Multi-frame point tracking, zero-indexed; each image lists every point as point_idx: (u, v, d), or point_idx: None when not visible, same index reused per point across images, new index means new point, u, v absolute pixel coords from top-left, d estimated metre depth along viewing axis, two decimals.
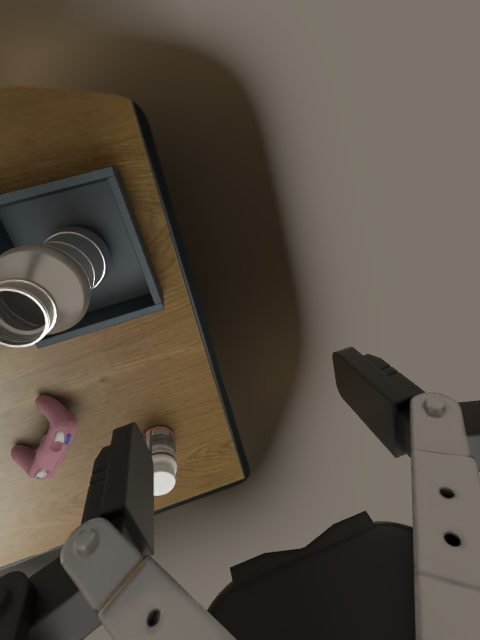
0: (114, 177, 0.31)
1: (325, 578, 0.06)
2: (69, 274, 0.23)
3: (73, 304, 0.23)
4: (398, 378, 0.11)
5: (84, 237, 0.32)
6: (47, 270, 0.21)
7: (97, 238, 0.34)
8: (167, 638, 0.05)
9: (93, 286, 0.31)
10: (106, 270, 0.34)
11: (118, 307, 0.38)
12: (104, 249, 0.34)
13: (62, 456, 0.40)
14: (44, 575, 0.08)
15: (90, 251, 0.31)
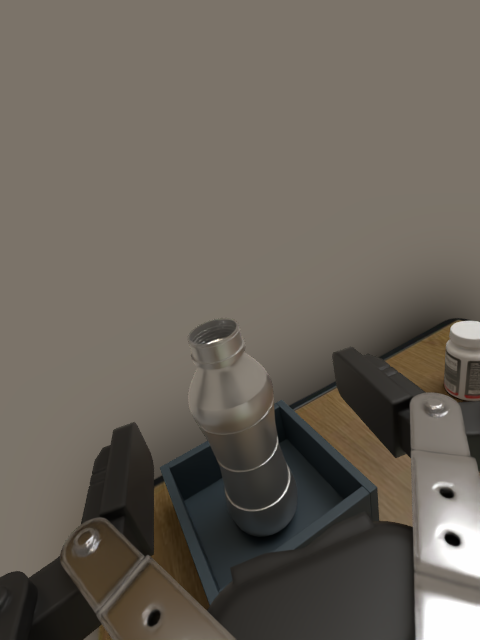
0: (168, 463, 0.33)
1: (325, 578, 0.06)
2: None
3: None
4: (398, 378, 0.11)
5: None
6: None
7: None
8: (167, 638, 0.05)
9: None
10: None
11: (308, 452, 0.34)
12: None
13: None
14: (43, 575, 0.08)
15: None
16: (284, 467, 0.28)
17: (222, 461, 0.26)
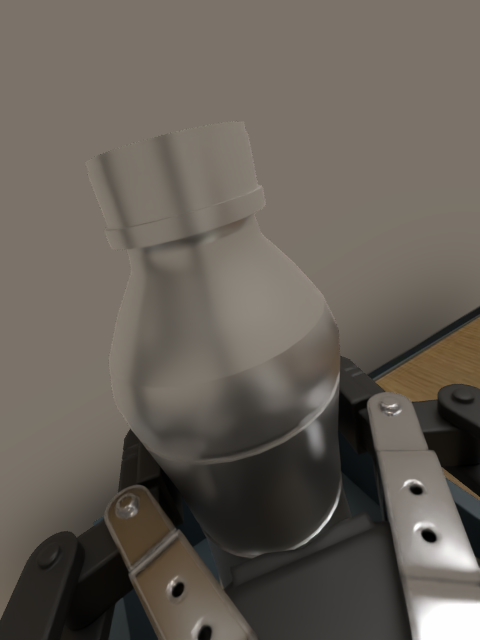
0: None
1: (325, 578, 0.06)
2: None
3: None
4: (362, 378, 0.12)
5: None
6: None
7: None
8: (188, 611, 0.06)
9: None
10: None
11: (372, 482, 0.19)
12: None
13: None
14: (88, 536, 0.09)
15: None
16: None
17: (209, 530, 0.10)
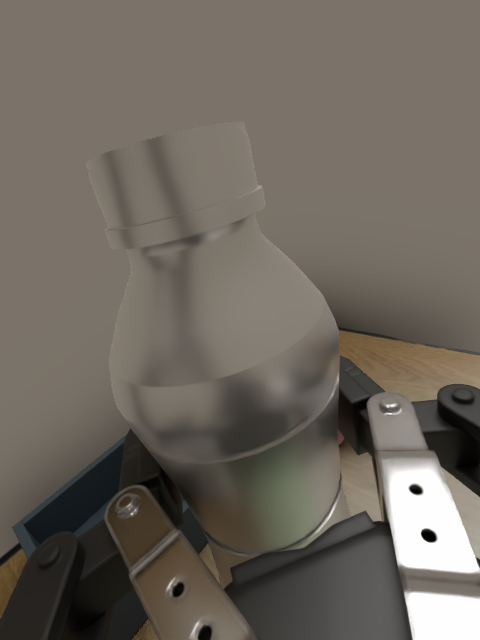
0: (23, 519, 0.31)
1: (325, 578, 0.06)
2: None
3: None
4: (362, 378, 0.12)
5: None
6: None
7: None
8: (188, 611, 0.06)
9: None
10: None
11: None
12: None
13: None
14: (88, 536, 0.09)
15: None
16: None
17: (209, 529, 0.10)
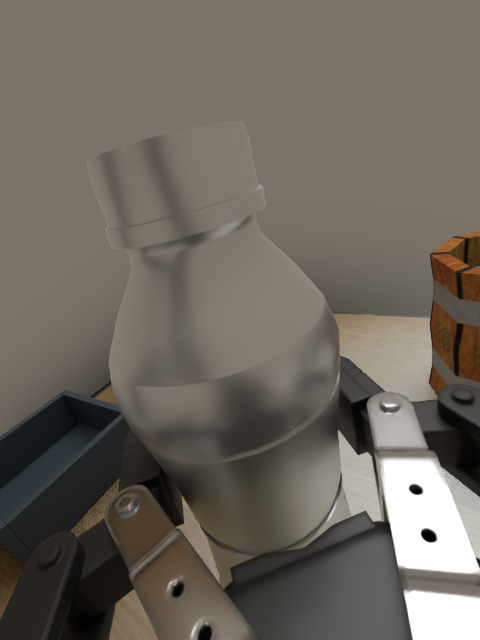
0: None
1: (325, 578, 0.06)
2: None
3: None
4: (362, 378, 0.12)
5: None
6: None
7: None
8: (188, 611, 0.06)
9: None
10: None
11: (93, 420, 0.42)
12: None
13: None
14: (88, 536, 0.09)
15: None
16: None
17: (209, 530, 0.10)
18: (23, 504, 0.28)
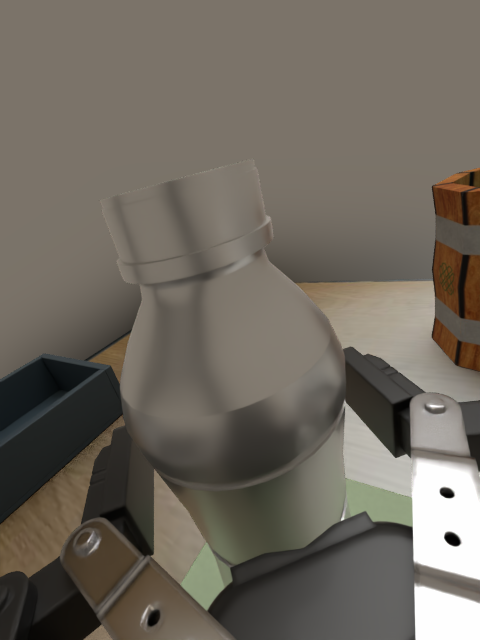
0: None
1: (325, 578, 0.06)
2: None
3: None
4: (398, 378, 0.11)
5: None
6: None
7: None
8: (167, 638, 0.05)
9: None
10: None
11: (73, 384, 0.40)
12: None
13: None
14: (44, 575, 0.08)
15: None
16: None
17: (217, 549, 0.10)
18: None
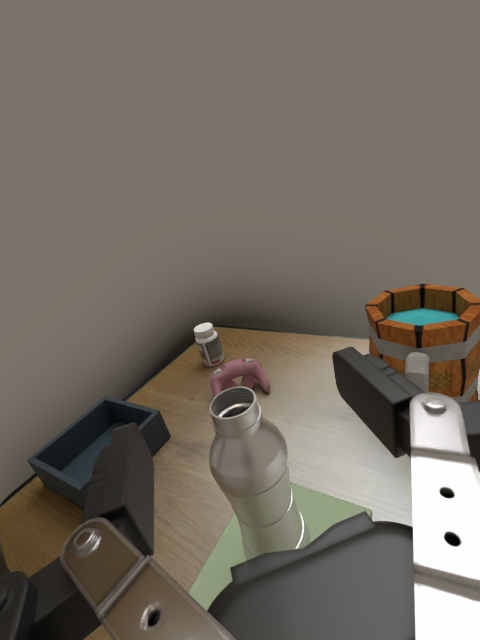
0: (33, 455, 0.49)
1: (325, 578, 0.06)
2: None
3: None
4: (398, 378, 0.11)
5: None
6: None
7: None
8: (167, 638, 0.05)
9: None
10: None
11: (128, 419, 0.57)
12: None
13: None
14: (43, 575, 0.08)
15: None
16: (298, 518, 0.30)
17: (242, 518, 0.27)
18: None
